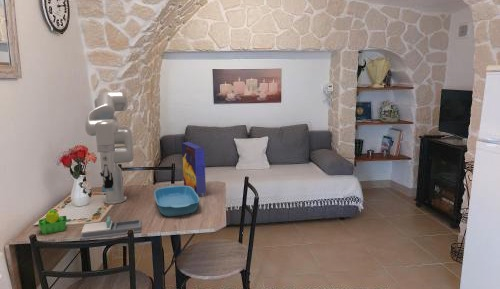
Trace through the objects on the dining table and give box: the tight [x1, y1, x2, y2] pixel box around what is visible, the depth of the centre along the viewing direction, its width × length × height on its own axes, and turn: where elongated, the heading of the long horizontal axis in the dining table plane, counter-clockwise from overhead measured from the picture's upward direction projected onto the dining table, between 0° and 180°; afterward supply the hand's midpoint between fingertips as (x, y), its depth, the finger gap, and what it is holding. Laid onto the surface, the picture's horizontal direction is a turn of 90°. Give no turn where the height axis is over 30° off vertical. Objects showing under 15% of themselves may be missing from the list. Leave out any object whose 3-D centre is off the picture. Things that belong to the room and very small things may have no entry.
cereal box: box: [181, 141, 207, 198], centre depth 214 cm, size 22×6×30 cm, turn 30°
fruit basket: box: [38, 208, 68, 235], centre depth 162 cm, size 11×9×11 cm
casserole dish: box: [153, 185, 200, 217], centre depth 192 cm, size 37×22×7 cm, turn 20°
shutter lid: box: [80, 215, 113, 235], centre depth 160 cm, size 9×12×4 cm
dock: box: [79, 218, 142, 241], centre depth 162 cm, size 13×26×2 cm, turn 106°
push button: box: [99, 171, 115, 193], centre depth 163 cm, size 7×5×10 cm
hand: (109, 186), depth 164 cm, fingers closed on push button, 3 cm apart
